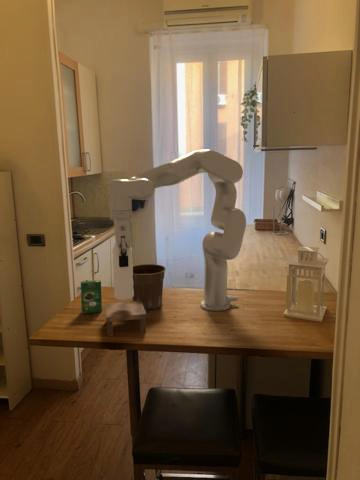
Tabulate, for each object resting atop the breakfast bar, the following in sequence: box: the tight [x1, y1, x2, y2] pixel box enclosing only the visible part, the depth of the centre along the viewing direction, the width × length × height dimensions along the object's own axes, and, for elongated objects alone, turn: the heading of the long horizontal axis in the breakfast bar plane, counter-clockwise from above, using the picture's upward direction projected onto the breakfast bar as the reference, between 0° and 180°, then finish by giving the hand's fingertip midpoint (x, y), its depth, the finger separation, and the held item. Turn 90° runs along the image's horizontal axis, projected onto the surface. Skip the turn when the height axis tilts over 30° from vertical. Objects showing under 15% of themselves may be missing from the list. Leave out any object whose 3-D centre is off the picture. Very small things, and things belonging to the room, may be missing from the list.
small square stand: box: [104, 300, 147, 337], centre depth 141 cm, size 14×14×7 cm
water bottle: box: [112, 241, 134, 301], centre depth 137 cm, size 7×7×25 cm
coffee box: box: [80, 279, 103, 315], centre depth 155 cm, size 8×3×13 cm, turn 110°
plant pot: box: [132, 263, 166, 311], centre depth 161 cm, size 16×16×16 cm
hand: (122, 263), depth 137 cm, fingers closed on water bottle, 6 cm apart
